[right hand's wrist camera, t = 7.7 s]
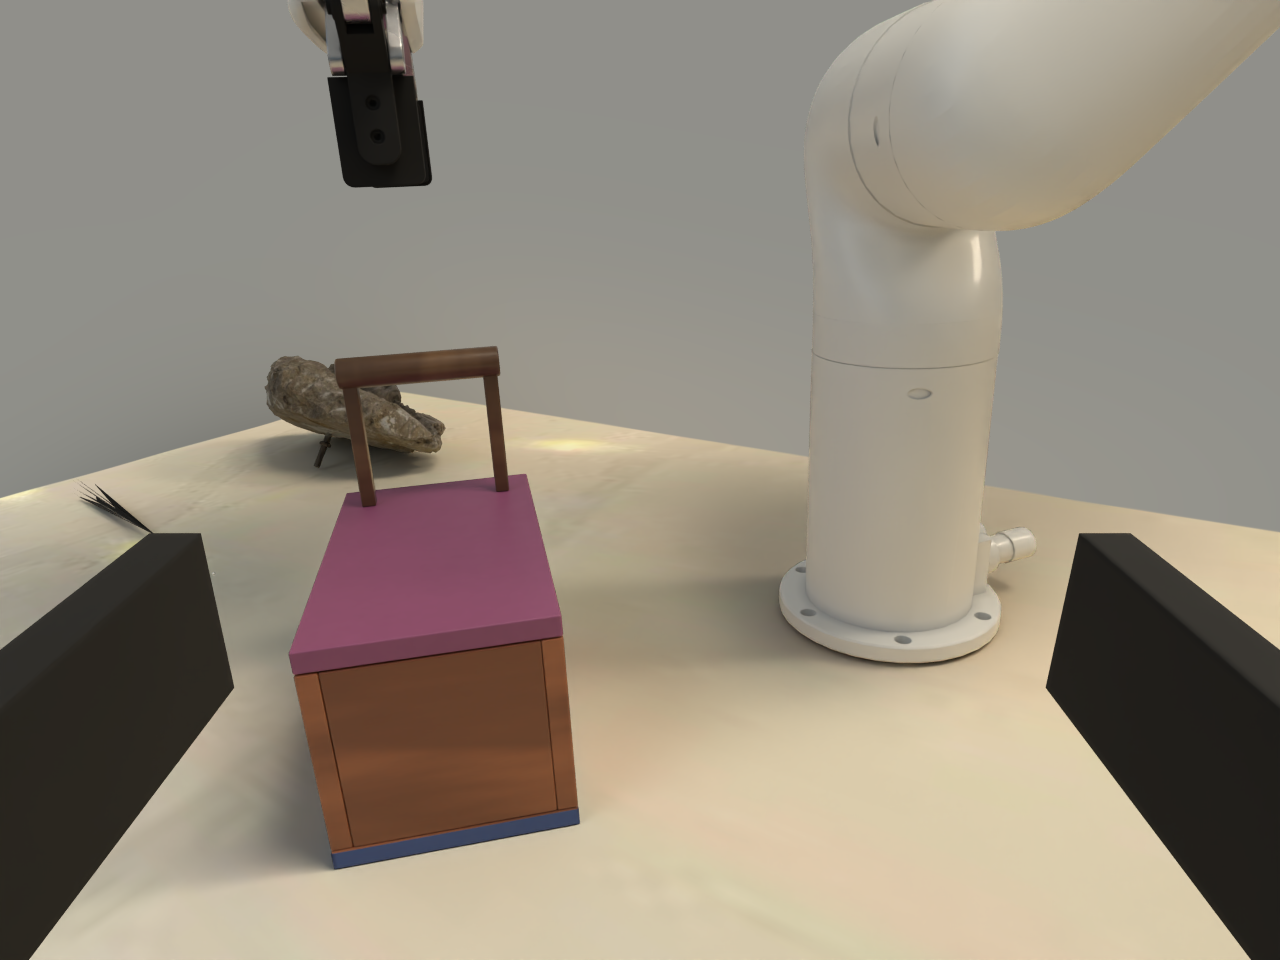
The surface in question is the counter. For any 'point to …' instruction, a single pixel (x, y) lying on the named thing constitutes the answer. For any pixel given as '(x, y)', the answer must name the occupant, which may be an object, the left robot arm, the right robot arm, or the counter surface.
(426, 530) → the lid
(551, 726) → the chest
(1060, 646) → the right robot arm
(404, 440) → the fossil
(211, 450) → the counter surface
